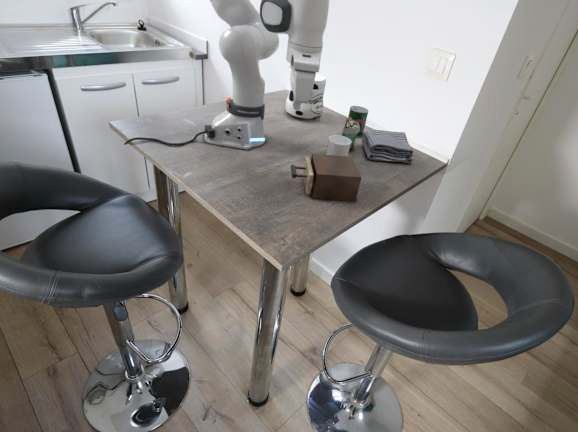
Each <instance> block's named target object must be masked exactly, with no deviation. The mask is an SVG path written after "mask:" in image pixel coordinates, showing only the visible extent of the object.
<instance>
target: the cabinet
mask: <svg viewBox="0 0 578 432" xmlns="http://www.w3.org/2000/svg"><path fill="white" fill-rule="evenodd" d="M310 162H311V166H312V162H314V166H315V170H316V174H317V175H316V181H315V186H314V190H313V185H312V188H311V196H312V199H319V200H320V199H322V200H336V201H350V202H355V201H356V199H357V196H358V192H359V187H360V185H361V181H362V175H361V173H360V170H359V169H358V166H357V164H356V162H355V160H354V158H353V156H336V155H327V154H322V153H311V157H310Z"/></svg>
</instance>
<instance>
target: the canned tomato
mask: <svg viewBox="0 0 578 432" xmlns="http://www.w3.org/2000/svg"><path fill="white" fill-rule="evenodd" d="M368 114H369V110H368V108H366V107H364V106H359V105H351V106H350V107H349V112H348V116H347V118H348V119H352V120H354V121H356V122H358V123H359V126H360V132H359V133H357V136H356V138H361V137H364V132H365V127H366V123H367V119H368Z"/></svg>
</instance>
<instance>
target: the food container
mask: <svg viewBox="0 0 578 432" xmlns="http://www.w3.org/2000/svg"><path fill="white" fill-rule="evenodd" d="M359 132H360V126H359V123H358V122H356V121H354V120H352V119H348V117H346V120H345V124H344V127H343V128H342V133H341V136H345V137H347V138H349V139H350V140H351V146H350V149H349V152H351V151H353V149H354V145H355V142H356V139H357V137H356V136H357V133H359Z"/></svg>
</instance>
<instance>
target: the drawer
mask: <svg viewBox="0 0 578 432" xmlns="http://www.w3.org/2000/svg"><path fill="white" fill-rule="evenodd" d="M297 170H302V174H300V173H297ZM290 173H291V178H292V179H296V178H302V179H303V183H304V187H305V188H304V189H305V193H306V195H311V194H312V192H311V188H312V185H313V190H314V186H315V181H316V175H317V174H316V170H315V166H314V162H312V166H311V157H310V156H308V155H306V156H305V158H304V164H303V166H297V165H295V164H291V165H290Z"/></svg>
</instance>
